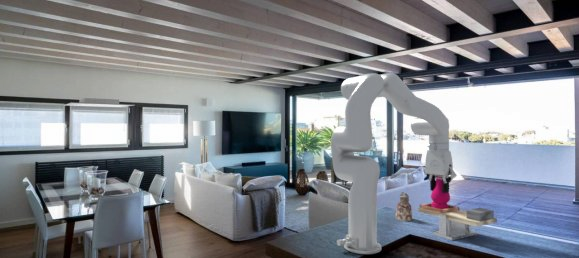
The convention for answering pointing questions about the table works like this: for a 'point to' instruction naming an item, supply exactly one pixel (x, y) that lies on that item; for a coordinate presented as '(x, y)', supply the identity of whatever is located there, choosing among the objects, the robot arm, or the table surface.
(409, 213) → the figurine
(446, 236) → the fulcrum
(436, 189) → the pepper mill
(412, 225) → the table surface
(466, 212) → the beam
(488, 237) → the table surface
